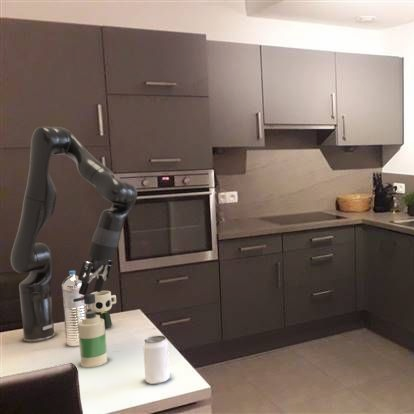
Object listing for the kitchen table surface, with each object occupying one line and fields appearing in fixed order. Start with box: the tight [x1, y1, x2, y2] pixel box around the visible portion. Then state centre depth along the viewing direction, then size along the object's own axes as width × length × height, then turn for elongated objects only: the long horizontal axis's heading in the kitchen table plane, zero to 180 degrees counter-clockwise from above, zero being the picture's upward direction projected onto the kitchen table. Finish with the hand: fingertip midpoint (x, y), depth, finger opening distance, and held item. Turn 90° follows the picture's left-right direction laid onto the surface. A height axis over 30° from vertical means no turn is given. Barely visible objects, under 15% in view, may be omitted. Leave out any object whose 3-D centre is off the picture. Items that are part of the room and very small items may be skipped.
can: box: [142, 335, 171, 385], centre depth 155 cm, size 6×6×12 cm
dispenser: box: [78, 310, 108, 368], centre depth 167 cm, size 7×7×16 cm
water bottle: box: [61, 270, 88, 347], centre depth 184 cm, size 7×7×25 cm
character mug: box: [86, 290, 117, 328], centre depth 200 cm, size 11×7×13 cm, turn 134°
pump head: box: [73, 293, 95, 308], centre depth 165 cm, size 6×3×4 cm, turn 142°
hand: (89, 292), depth 170 cm, fingers open, 8 cm apart
